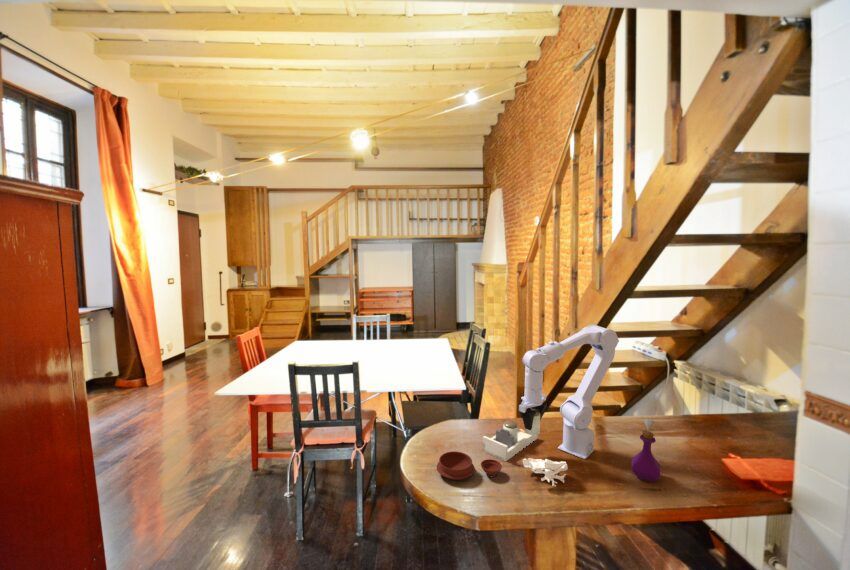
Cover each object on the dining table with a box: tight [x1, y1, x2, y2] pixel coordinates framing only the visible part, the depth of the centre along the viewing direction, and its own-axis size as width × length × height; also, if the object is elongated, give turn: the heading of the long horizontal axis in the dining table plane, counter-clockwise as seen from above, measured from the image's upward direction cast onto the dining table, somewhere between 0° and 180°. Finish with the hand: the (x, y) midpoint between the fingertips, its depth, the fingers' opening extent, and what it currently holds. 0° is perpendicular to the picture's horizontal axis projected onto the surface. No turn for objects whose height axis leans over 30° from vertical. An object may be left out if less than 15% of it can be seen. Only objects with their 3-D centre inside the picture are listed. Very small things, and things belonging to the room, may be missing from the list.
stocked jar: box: [502, 420, 519, 445], centre depth 129 cm, size 5×5×7 cm
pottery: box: [436, 450, 503, 480], centre depth 113 cm, size 12×20×4 cm, turn 89°
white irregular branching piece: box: [522, 457, 569, 487], centre depth 110 cm, size 12×7×12 cm
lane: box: [482, 423, 538, 462], centre depth 130 cm, size 9×21×5 cm, turn 135°
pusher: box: [495, 427, 514, 449], centre depth 127 cm, size 7×1×6 cm, turn 45°
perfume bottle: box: [631, 418, 662, 483], centre depth 111 cm, size 8×8×18 cm
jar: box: [523, 409, 541, 436], centre depth 123 cm, size 5×5×7 cm
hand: (532, 426), depth 123 cm, fingers closed on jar, 5 cm apart
